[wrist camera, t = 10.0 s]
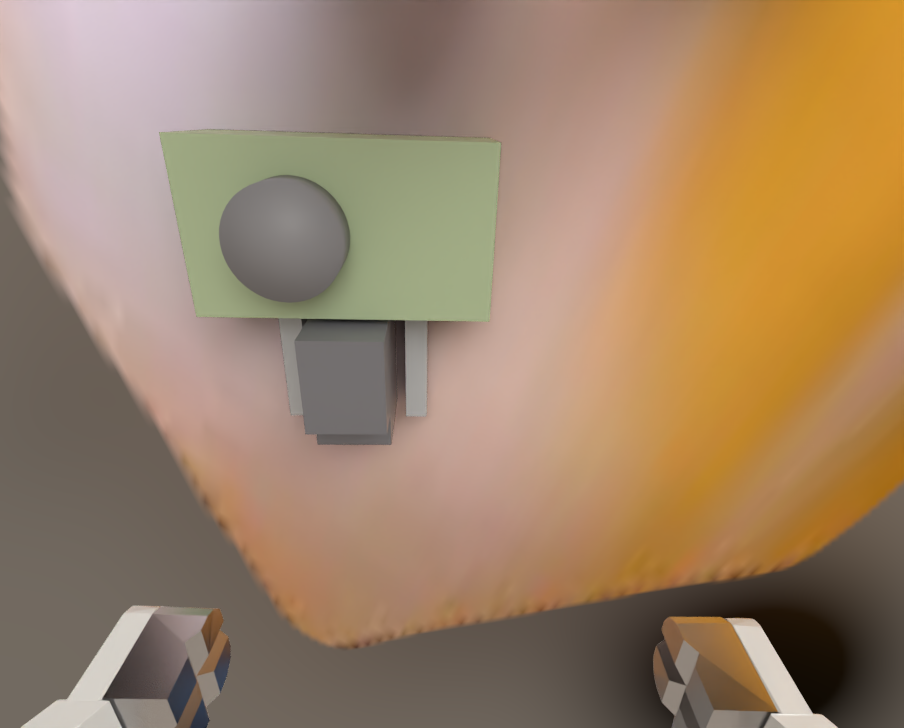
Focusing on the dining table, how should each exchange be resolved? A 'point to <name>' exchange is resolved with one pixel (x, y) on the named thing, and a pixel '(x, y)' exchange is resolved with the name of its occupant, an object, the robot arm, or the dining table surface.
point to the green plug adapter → (337, 231)
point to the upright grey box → (348, 380)
